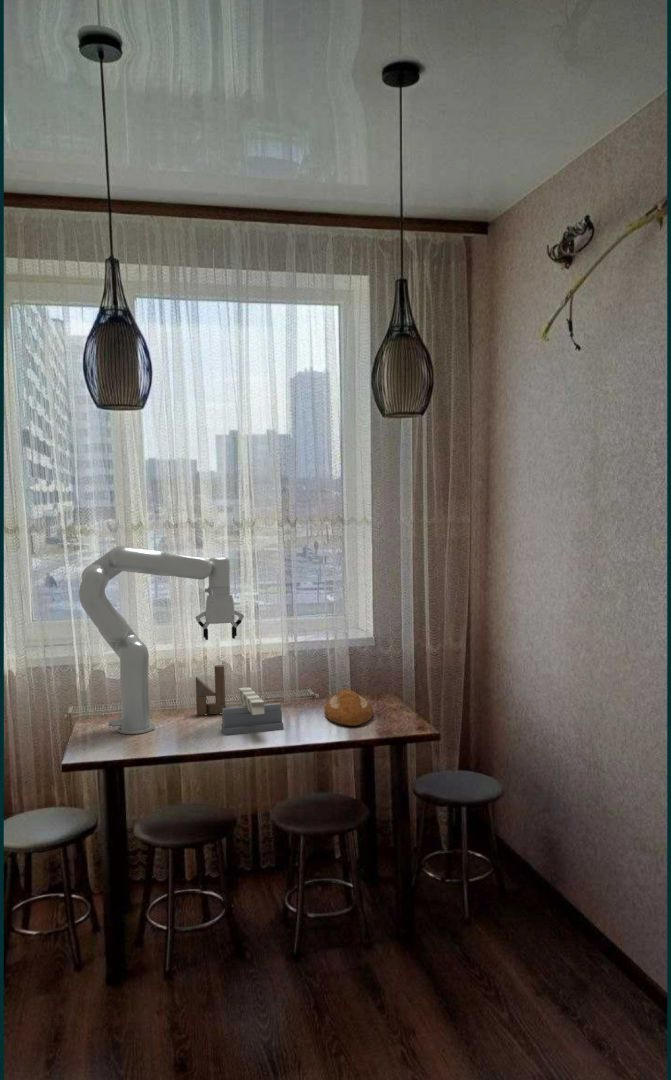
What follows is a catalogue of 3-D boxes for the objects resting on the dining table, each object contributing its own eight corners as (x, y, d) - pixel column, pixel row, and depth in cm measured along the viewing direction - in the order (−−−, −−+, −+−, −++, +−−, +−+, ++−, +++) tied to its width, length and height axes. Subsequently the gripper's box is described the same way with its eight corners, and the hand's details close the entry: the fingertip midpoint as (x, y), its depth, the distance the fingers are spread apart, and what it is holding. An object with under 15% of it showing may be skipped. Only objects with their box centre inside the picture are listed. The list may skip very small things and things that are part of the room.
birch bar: (264, 713, 280) (264, 701, 280) (252, 714, 279) (252, 702, 279) (250, 698, 303) (249, 687, 303) (239, 699, 302) (238, 688, 302)
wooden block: (196, 713, 316) (195, 665, 315) (226, 712, 317) (224, 664, 316) (196, 716, 312) (195, 667, 311) (226, 714, 313) (224, 666, 313)
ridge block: (225, 735, 285) (224, 711, 285) (221, 729, 292) (220, 706, 292) (283, 729, 291) (282, 706, 290) (278, 723, 298) (277, 701, 298)
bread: (367, 703, 325) (367, 680, 325) (378, 728, 290) (377, 702, 290) (322, 705, 324) (321, 682, 324) (326, 730, 289) (326, 704, 289)
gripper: (196, 593, 298) (196, 641, 299) (244, 591, 302) (245, 639, 303) (194, 591, 305) (194, 638, 306) (241, 589, 310) (242, 636, 310)
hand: (220, 638), depth 304 cm, fingers open, 9 cm apart
